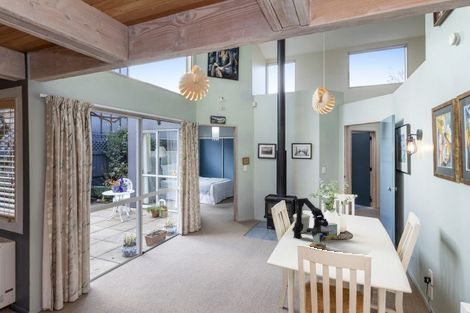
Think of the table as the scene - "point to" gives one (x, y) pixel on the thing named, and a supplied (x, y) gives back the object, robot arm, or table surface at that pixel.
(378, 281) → the table surface
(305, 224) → the canister
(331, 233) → the snack box
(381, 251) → the table surface
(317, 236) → the sage box
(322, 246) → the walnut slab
